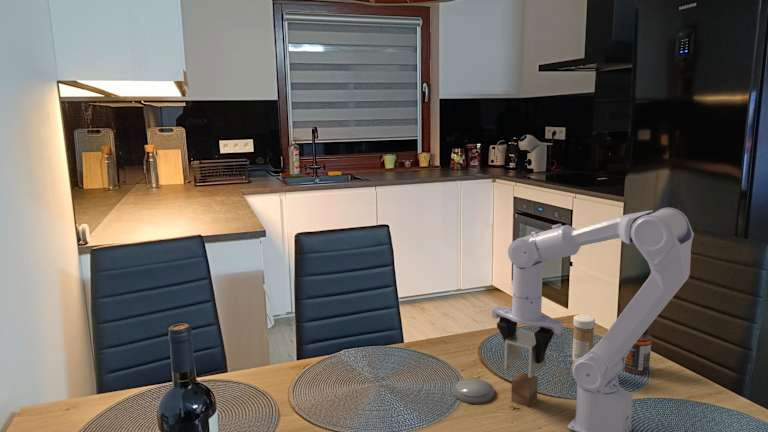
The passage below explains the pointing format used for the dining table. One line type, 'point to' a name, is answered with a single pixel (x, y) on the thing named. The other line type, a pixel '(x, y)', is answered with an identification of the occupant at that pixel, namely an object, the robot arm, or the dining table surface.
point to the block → (524, 389)
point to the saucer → (473, 391)
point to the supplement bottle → (639, 355)
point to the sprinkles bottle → (582, 335)
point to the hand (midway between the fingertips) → (525, 357)
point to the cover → (515, 350)
